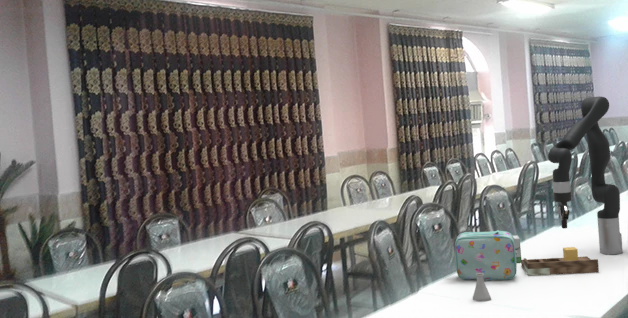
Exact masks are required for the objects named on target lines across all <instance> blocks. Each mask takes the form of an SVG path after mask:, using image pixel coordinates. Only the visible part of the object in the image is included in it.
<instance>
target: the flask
mask: <svg viewBox="0 0 628 318" xmlns="http://www.w3.org/2000/svg"><path fill="white" fill-rule="evenodd" d="M476 276H477V279H476V284H475V289H474V292H473V295H472V300H474V301H476V302H486V301H491V300H492V297H491V294H490V292H489V290H488V288H487V286H486V283H485V280H484V278H483V276H484V274H483V273H477V274H476Z"/></svg>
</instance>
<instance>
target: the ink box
mask: <svg viewBox="0 0 628 318" xmlns="http://www.w3.org/2000/svg"><path fill="white" fill-rule="evenodd" d="M512 236H513V238H514V244H515V248H516V249H515V251H517V253H518V255H519V256H518V255H517V254H516V263H517V264H518V263H520V264H521V260H522V249H521V248H522V247H521V239H520V237H519V235H518V234H517V235H513V234H512Z"/></svg>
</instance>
